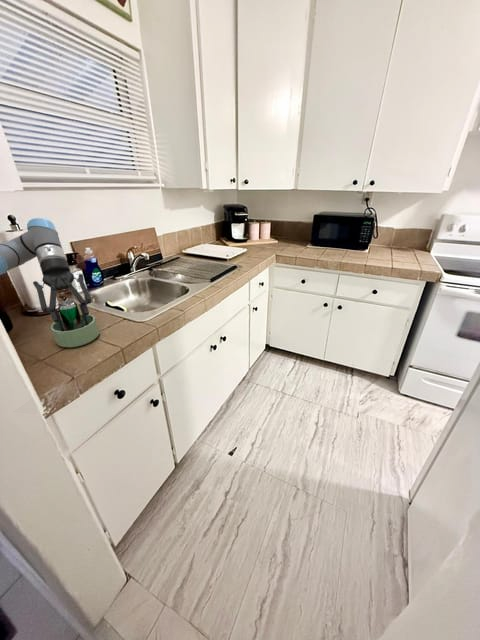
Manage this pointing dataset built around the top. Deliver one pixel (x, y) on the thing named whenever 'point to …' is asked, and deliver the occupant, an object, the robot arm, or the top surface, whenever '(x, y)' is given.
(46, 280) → the robot arm
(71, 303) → the soda can
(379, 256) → the top surface
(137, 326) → the top surface
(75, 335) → the bowl
